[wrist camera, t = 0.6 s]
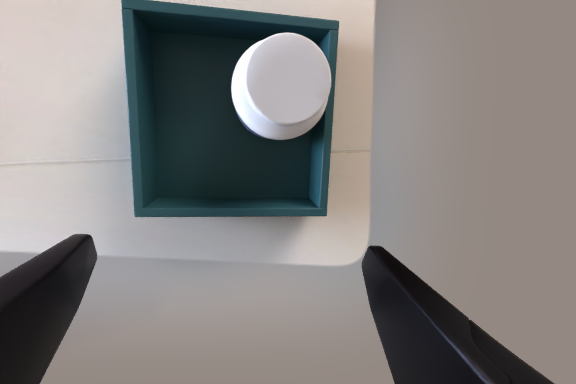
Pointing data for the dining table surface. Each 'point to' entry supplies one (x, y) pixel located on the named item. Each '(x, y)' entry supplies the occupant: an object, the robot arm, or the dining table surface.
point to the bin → (215, 116)
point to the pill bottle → (281, 86)
